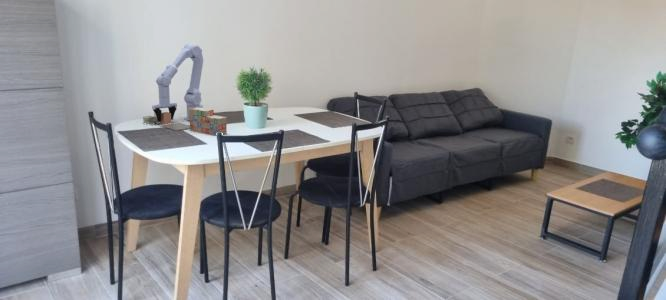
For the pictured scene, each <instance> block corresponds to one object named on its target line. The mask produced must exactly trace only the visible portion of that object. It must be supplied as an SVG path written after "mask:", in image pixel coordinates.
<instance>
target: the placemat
mask: <svg viewBox="0 0 666 300" xmlns="http://www.w3.org/2000/svg"><path fill="white" fill-rule="evenodd" d="M161 126H162V127H161ZM160 127H161V128H164V127H165V129H169V130H171V129H172V131H176V132H179V131H185V130H190V124H189V125H188V124H185V123H180V122H176V123H171V124H161V125H160Z"/></svg>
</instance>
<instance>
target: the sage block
mask: <svg viewBox="0 0 666 300" xmlns="http://www.w3.org/2000/svg"><path fill="white" fill-rule="evenodd" d="M142 122H143V124H144V123H146V124H145V125H147V124H150V125H154V124H153V123H156V124H157V122H156V117H154V115H146V116H142Z"/></svg>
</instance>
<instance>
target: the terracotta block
mask: <svg viewBox="0 0 666 300" xmlns="http://www.w3.org/2000/svg"><path fill="white" fill-rule="evenodd" d="M161 123H163V124H162V125H168V123H171V124H172V120H171V113H169V111H165V112H163V111H162V113H161V122H159V124H161Z"/></svg>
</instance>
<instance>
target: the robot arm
mask: <svg viewBox="0 0 666 300" xmlns="http://www.w3.org/2000/svg"><path fill="white" fill-rule="evenodd" d="M189 58H190V59H191V60H192V63H193V64H192V69H191V75H190V82H189V88H188V89H187V90H186V92H185V95H184V97H183V101H184V102H185V103H186V118H184V120H185V121H189V109H190V108H196V107H198V108H204V106H203V105H202V104H201V102H202V94H201V93H202V92H201V91H200V84H201V78H202V71H203V65H204V56H203V49H202V48H201V47H200V46H199V45H198V44H189V43H188V44H184V46H183V47H182V48H181V50H180V52H179V54H178V56H177V57H176V58H175V60H174V61H173V63H172V64H169V65H166V68H165V70H164V71H163V72H161V74H160V75H158V77H157V78H156V80H155V82H156V84H157V87H158V100H159V102H158V103H159V104H155V105H151V107H152V111H153V113H155V114H156V116H157V119H158V121H159V122H158V123H160V122H161V112H163V111H162V109H168V113H171V121H173V120H174V117H175V113H176V112H177V107H178V104H177V102H174V103H171V101H170V99H171V98H170V97H171V96H170V85H172V84H171V83H172V79H173V78H174V77H175V76H176V74H177V73H178V68H179V67H180V66H181V65H182V64H183V62H184V61H185V60H186V59H189Z"/></svg>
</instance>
